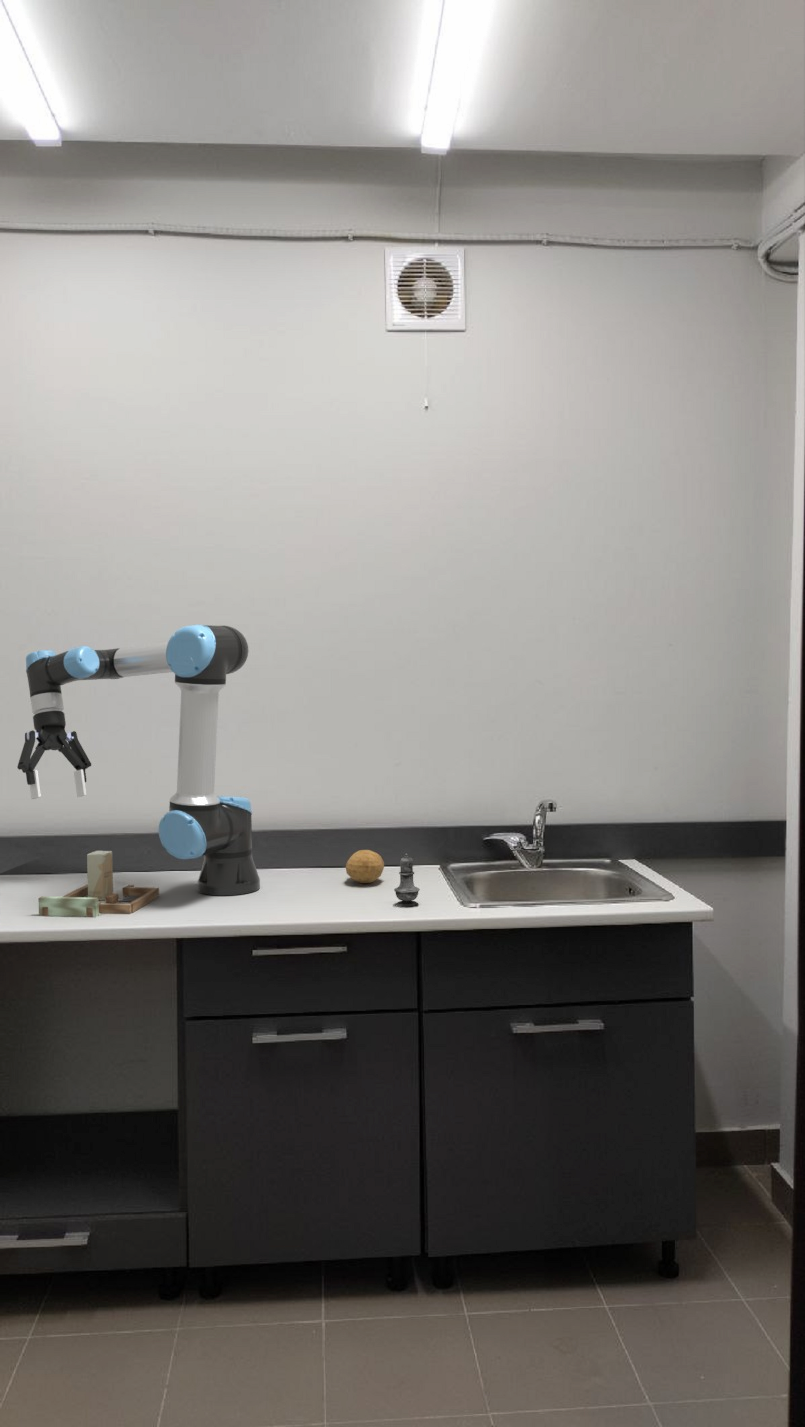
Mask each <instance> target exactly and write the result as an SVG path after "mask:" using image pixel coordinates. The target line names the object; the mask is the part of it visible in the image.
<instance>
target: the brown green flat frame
mask: <svg viewBox="0 0 805 1427" xmlns="http://www.w3.org/2000/svg"><path fill="white" fill-rule="evenodd" d="M159 891H160V888H159V887H149V886H147V887H145V886H138V887H137V886H135V884H127V885H125V886H124V887H122V897H123V898H121V899H120V897H119V896H120V894H119V893H114V892H113V893H112V894H111V895H109V896H107V897H106V900H105V903H102V902H101V901H99V900H98V898H89V897H88V883H87V884H85V885H83V886H81V887H79V888H76V889H75V890H72V891H70V892H68V893H67V894H65V895H62V896H39V897H37V898H38V903H37V904H38V916H40V917H78V916H81V917H82V918H84V916H86V917H85V918H97V917H98V916H100V914H115V915H116V914H119V915H120V914H121V915H122V914H123V915H131V914H134V913H135V912H136V911H138V910H139V909H141V908H143V907H144V906H146V905H148V904H150V903H151V902H153V901H155V900H156V899H158V898H159V897H160V892H159ZM86 895H87V896H86ZM157 897H158V898H157ZM81 917H80V918H81Z"/></svg>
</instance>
